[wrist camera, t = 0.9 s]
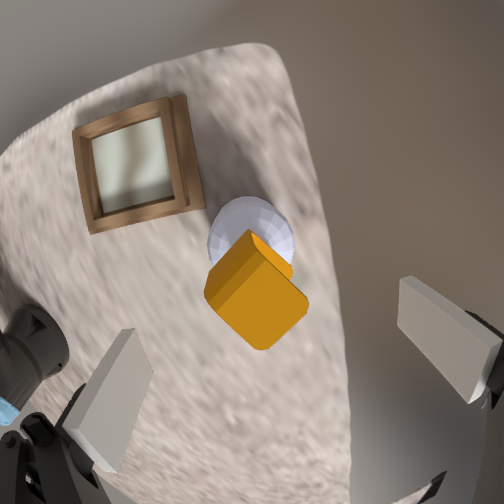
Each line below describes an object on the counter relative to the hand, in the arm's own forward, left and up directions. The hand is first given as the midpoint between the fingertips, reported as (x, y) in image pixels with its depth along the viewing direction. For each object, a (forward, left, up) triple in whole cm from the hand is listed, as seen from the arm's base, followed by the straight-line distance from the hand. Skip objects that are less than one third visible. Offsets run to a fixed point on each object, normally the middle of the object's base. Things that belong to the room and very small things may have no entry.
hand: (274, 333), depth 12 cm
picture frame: (-14, +12, -26) cm, 32 cm away
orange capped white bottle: (0, 0, -27) cm, 27 cm away
